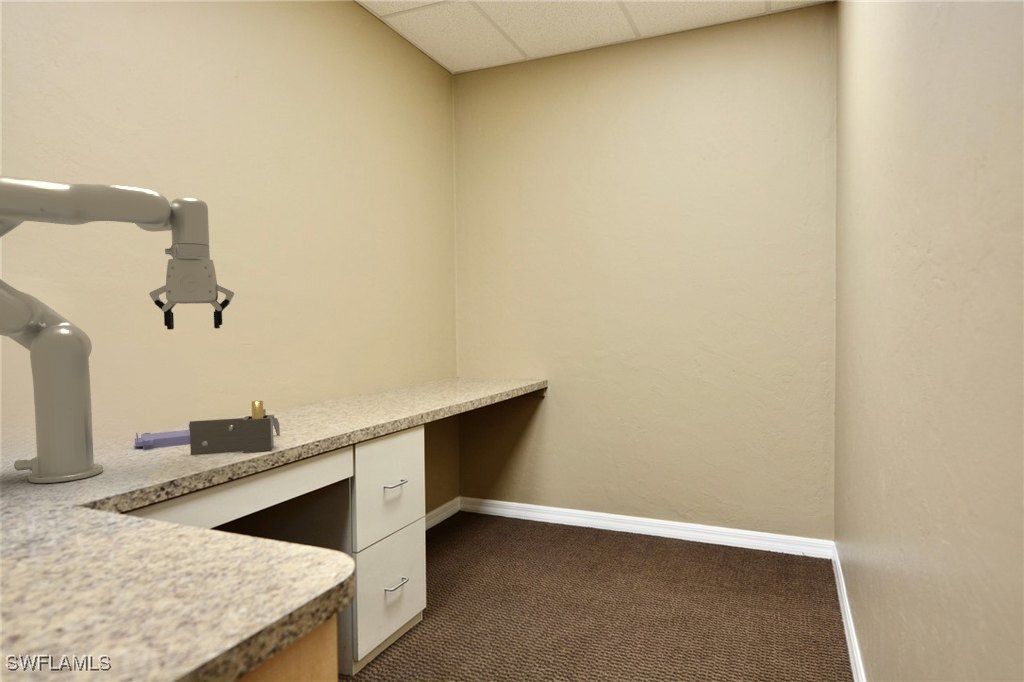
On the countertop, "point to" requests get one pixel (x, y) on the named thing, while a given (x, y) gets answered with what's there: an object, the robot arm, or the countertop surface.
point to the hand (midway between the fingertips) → (194, 328)
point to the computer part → (163, 439)
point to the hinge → (232, 435)
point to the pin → (257, 409)
